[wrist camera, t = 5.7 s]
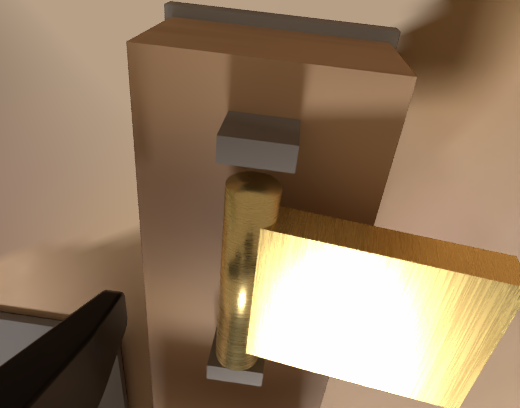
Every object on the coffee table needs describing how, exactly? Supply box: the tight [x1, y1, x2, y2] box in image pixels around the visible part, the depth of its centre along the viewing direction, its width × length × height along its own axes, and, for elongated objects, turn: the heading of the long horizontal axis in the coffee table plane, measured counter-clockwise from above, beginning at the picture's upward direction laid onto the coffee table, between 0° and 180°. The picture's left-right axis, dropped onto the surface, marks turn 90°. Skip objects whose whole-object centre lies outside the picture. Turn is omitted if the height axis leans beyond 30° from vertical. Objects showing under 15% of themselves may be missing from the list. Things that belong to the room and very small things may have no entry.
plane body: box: [127, 1, 417, 408], centre depth 16 cm, size 23×6×5 cm, turn 175°
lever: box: [216, 171, 520, 408], centre depth 10 cm, size 5×1×6 cm
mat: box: [0, 312, 128, 408], centre depth 22 cm, size 10×10×1 cm
